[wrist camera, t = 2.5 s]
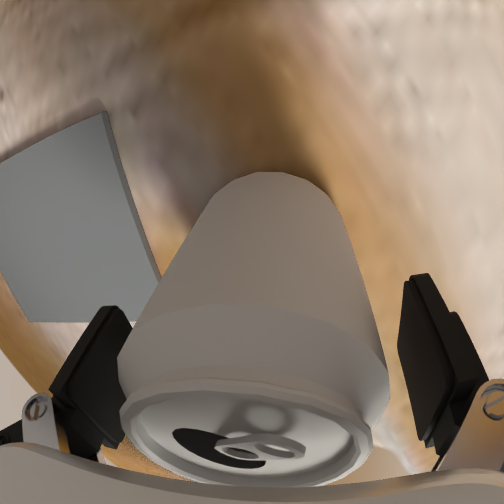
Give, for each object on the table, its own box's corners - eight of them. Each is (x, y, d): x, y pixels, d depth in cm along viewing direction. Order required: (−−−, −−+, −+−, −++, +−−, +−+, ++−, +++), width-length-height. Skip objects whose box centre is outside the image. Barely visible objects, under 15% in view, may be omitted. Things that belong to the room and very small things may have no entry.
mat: (176, 313, 20) (173, 319, 20) (32, 317, 23) (29, 321, 22) (106, 111, 14) (100, 112, 14) (-30, 183, 17) (-35, 186, 16)
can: (175, 235, 17) (61, 424, 7) (269, 134, 14) (211, 290, 4) (272, 314, 19) (251, 511, 9) (371, 238, 16) (447, 452, 6)
